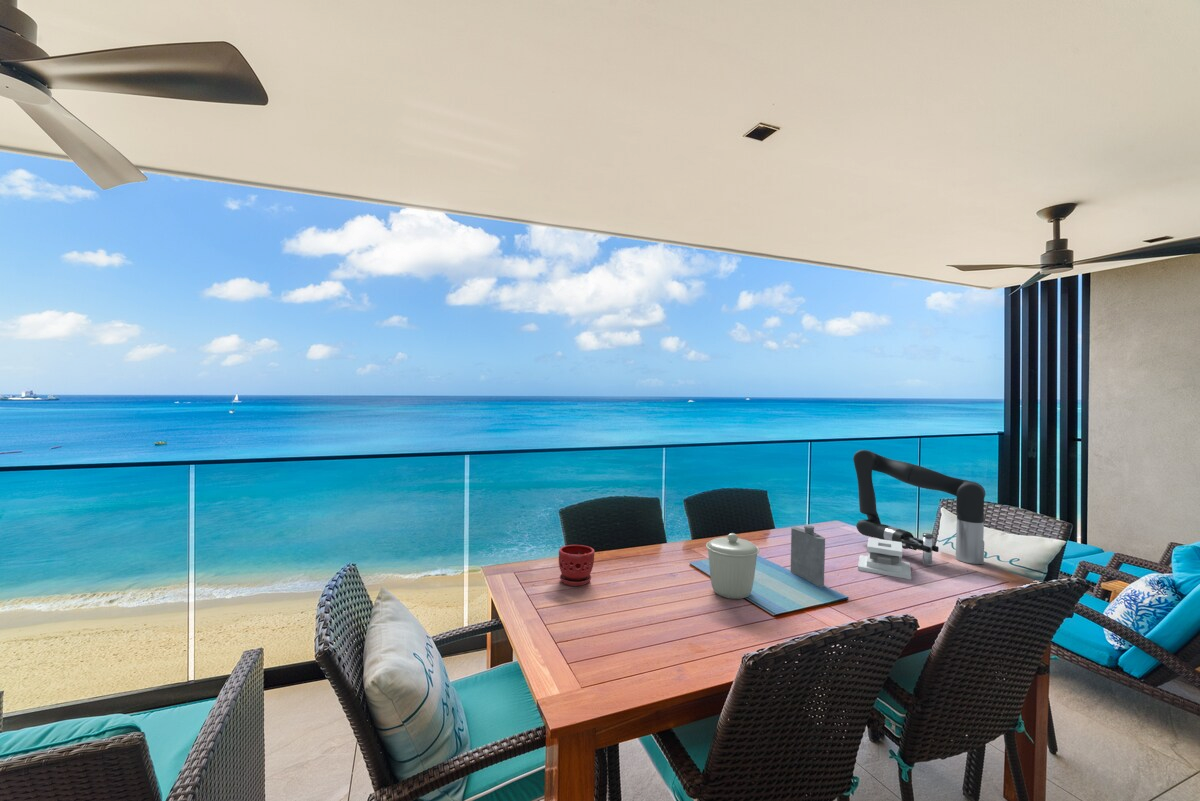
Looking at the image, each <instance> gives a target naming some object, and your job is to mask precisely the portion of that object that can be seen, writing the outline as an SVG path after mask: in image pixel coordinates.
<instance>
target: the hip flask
mask: <svg viewBox="0 0 1200 801" xmlns="http://www.w3.org/2000/svg"><path fill="white" fill-rule="evenodd" d="M790 532H791V533H790V536H791V537H790V568H789V569H790V573H791V574H794V575H795V576H798V577H801V578H802V579H805V580H806V581H808V582H810V583H811V582H812V583H811V584H813V585H815V586H816V587H822V588H823V587H824V586H825V566H826V565H825V560H826V559H825V558H826V556H825V555H826V537H824V536H822V535H820V534H818V533H816V532H815V526H813V525H810V524H809V525H807V524H805V525H803V528H800V527H797V526H793V527H791V531H790Z"/></svg>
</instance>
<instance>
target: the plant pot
mask: <svg viewBox="0 0 1200 801" xmlns="http://www.w3.org/2000/svg"><path fill="white" fill-rule="evenodd" d="M594 562H595V549H594V548H592V547H591V546H588V545H582V544H569V545H563V546H561V547H560V548H559V549H558V566H559V569H560V572H561V574H560V575H559V579H560V581H561V582H562V583H563V584H565V585H568V586H574V587H575V586H576V587H578V586H584V585H587V584H588V583H589V582H590V581H591V580H592V575H591V573H592V571H593V568H594Z"/></svg>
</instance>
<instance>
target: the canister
mask: <svg viewBox="0 0 1200 801" xmlns="http://www.w3.org/2000/svg"><path fill="white" fill-rule="evenodd" d="M705 546H706V549H707V554H708V565H709V567H708V568H709V576H710V584H711V588H712V589H713V591H714V593H716V594H717V595H718V596H721V597H723V598H727V599H731V600H733V599H734V600H738V599H739V600H742V599H745V598H747V597H749V595H751V593H752V591H753V585H754V580H755V573H756V567H757V561H758V560H757V558H758V554H759V553H760V548H759V547H758V545H756V544H754V543H753V542H751V541H749V540H747V539H744V538H739V537H738V535H737V534H736V533H734V532H731V533H729V534H727V536H724V537H723V536H722V537H716V538H713V539H711V540H709V541H707V542H706V543H705Z"/></svg>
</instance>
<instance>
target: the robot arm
mask: <svg viewBox="0 0 1200 801" xmlns="http://www.w3.org/2000/svg"><path fill="white" fill-rule="evenodd" d="M852 459H853V460H852V461H853V463H854V469H855V472H856V479H857V487H858V504H859V512H860V513H861V514H862V515H866V517H867V519H860V520H858V521H857V522H856V526H855V527H856V529H857V531H858V533H859V534H861V535H862V536H865V537H869V538H876V539H883V540H890V541H897V542H902V550H903V549H904V550H908V549H909V550H913V551H917V550H918V551H922V552H923V551H925V552H928V553H931V547H928V546H925V545H923V539H922V538H919V537H915V536H914V535H913V533H911V532H910V531H908V530H904V529H901V528H898V527H895V526H890V525H888V524H883V523H881V519H880V516H879V513H878V511H877V501H876V498H877V497H876V492H875V488H874V484H873V471H874V472H878V473H883V474H885V475H888V476H890V477H892V478H893V479H896V480H898V481H900V482H903V483H905V484H908V485H911V486H914V487H917V488H920V489H926V490H931V491H938V492H943V493H946V494H949V495H952V496H954V497H956V503H955V504H956V505H955V507H956V509H955V511H956V532H955V535H956V536H955V537H956V538H955V559H956V560H957V561H959V562H963V563H965V564H974V565H984V563H985V541H984V536H985V535H984V533H985V532H984V531H985V530H984V529H985V498H986V490H985V488H984V486H982V484H979V483H978V482H976V481H972V480H966V479H962V478H956V477H953V476H950V475H949V476H948V475H946V474H945V473H944V474H943V473H941V472H939V471H936V470H932V469H929V468H927V467H924V466H921V465H919V464H918V465H917V464H914V463H911V462H907V461H902V460H896V459H895V460H894V459H892V458H888V457H885V456H883V455H880V454H878V453H875V452H873V451H871V450H867V449H860V450H858V451H856V452H855V453H854V455H853V457H852ZM939 550H940V549H939V546H937V545H935V544H934V543H932V552H936V553H939Z"/></svg>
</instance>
